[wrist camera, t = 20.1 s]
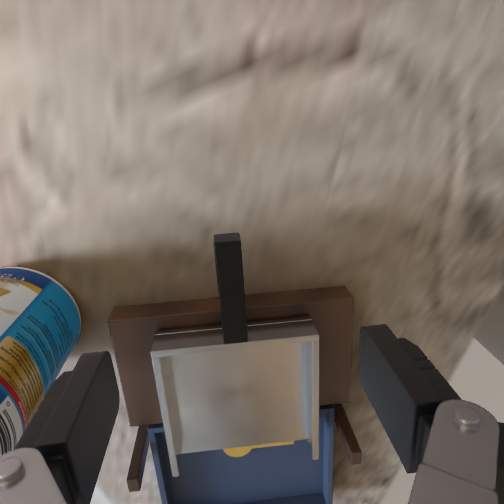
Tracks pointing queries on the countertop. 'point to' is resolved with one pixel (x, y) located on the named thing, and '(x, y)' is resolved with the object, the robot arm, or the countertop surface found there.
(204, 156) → the countertop surface
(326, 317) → the stand
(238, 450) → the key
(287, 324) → the grey dustpan
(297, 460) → the tray
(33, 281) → the beverage bottle
